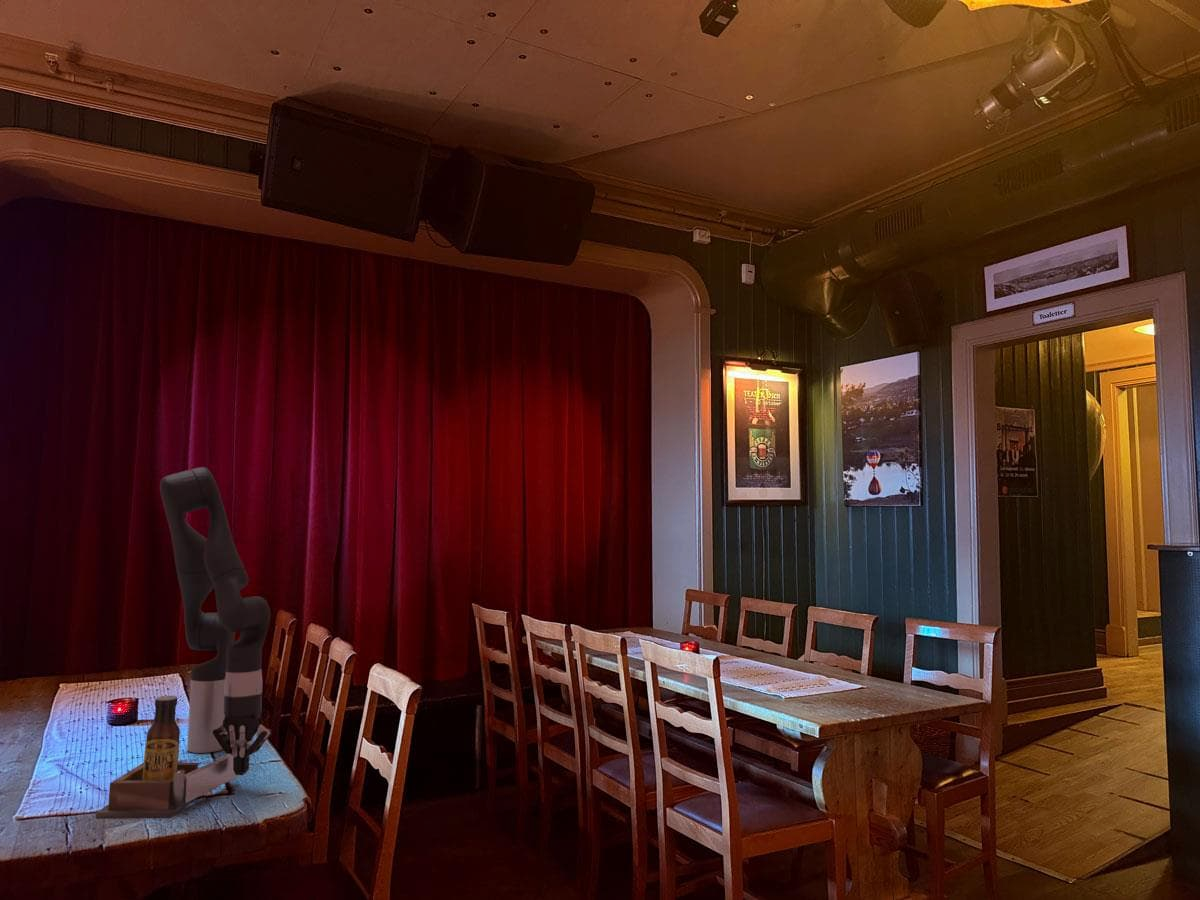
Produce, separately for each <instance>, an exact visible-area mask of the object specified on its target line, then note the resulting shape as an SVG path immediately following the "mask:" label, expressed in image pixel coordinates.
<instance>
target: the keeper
mask: <svg viewBox="0 0 1200 900" xmlns="http://www.w3.org/2000/svg"><path fill="white" fill-rule="evenodd" d="M238 777H239V775H235V772H234V771H233V756H232V755H231V754H229V753H228V754H226V755H225V756H222V757H220V758H218V759H216V760H214V761H212V762H209V763H207V764H204V765H203V766H201V767H198V769H196V770H194V771H192V772H189V773H187V774H185V770H176V771H174V774H173V793H172V807H180V806H183V803H187V802H189V801H191V800H192V801H193V800H195V799H197V798H199V797H200V796H203V795H205V794H207V793H208V792H211V791H212V790H215V789H217V788H219V787H221V786H222V785H225V784H226V783H229V782H230V781H232V780H234V779H237V778H238ZM192 801H191V802H192ZM189 803H190V802H189Z"/></svg>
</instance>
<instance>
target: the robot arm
mask: <svg viewBox="0 0 1200 900" xmlns="http://www.w3.org/2000/svg"><path fill="white" fill-rule="evenodd" d="M159 483H160V484H159V492H160V496H161V500H162V505H163V509H164V513H165V517H166V520H167V523H168V528H169V532H170V536H171V544H172V548H173V555H174V556H173V557H174V564H175V569H176V574H177V575H176V576H177V580H178V583H179V588H180V593H181V598H182V604H183V605H182V607H183V616H184V631H185V632H184V633H185V639H186V643H187V645H188V647H189V648H190V650H194V651H217V652H216V653H217V654H216V656H214V658H212V659H210V660H208V661H205V662H202V663H199V664H196V665H194V666H193V667H192V668H191V669H190V670H191V671H190V686H189V707H188V708H189V709H188V723H187V724H188V728H187V729H188V731H187V747H186V748H187V752H190V753H194V754H196V753H197V754H206V753H207V754H208V753H215V752H218V751H222V750H223V752H224V753H225V754H226V755H229V754H231V755H232V756H233V771H234V772H235V775H238V776H243V775H245V774H247V772H248V771H249V770H250V756H252V755H253V754H255V753H257V752H259V750H260V749H261V748H262V746H263V745H264V743H265V742H266V741H267V740H268V739H269V737H270V736H271V734H272V729H271V728H266V727H265V726H264V725H263V719H262V717H261V714H262V711H263V710H262V709H263V707H262V706H263V704H262V703H263V675H262V674H263V671H262V663H263V662H262V660H263V656H262V655H263V652H262V651H263V647H264V643H265V642H266V641H265V640H266V637H267V633H268V630H269V626H270V622H271V609H270V606H269V603H268V602H267V600H266V599H265V598H264V597H262V596H254V595H253V596H247V597H242V595H241V590H242V589H244V588H245V587H246V586H247V585H248V583H249V575H248V573H247V570H246V569H245V566H244V564H243V562H242V559H241V557H240V555H239V552H238V550H237V548H236V543H235V542H234V539H233V536H232V533H231V531H232V530H231V529H230V524H229V520H228V518H227V517H228V516H227V513H226V510H225V507H224V504H223V500H222V497H221V492H220V490H219V487H218V484H217V481H216V480H215V477H214V475H213V473H212V472H211V471H210V470H209V468H207V467H203V466H202V467H201V466H200V467H195V468H192V469H188V470H183V471H179V472H176V473H172V474H169V475H166V476H164V477H162V478H161V480H160V482H159ZM206 508H207V509H208V513H209V518H210V519H209V529H208V530H209V531H208V534H207V537H205V536H203V535H202V534H201V533H199V531H196V529H194V528H193V527H192V526H191V525H190V524H189V523H188V522H187V521H186V520H185V515H186V514H187V513H191V512H195V511H199V510H202V509H206ZM213 589H214V590H215V591H214V592H215V593H214V595H215V601H216V604H215V605H216V611H217V612H203V611H202V605H203V603H204V601H206V598H207V596H209V594H210V593H211V592H212V591H213ZM238 632H240V634H239V638H238V639H237V640H235V638H236V633H238ZM255 736H256V738H255ZM254 739H255V740H254Z"/></svg>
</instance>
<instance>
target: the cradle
mask: <svg viewBox="0 0 1200 900" xmlns="http://www.w3.org/2000/svg"><path fill="white" fill-rule="evenodd" d="M143 767H144V762H142V763H141V764H139V765H137V766H135V767H134V768H132V769H131V770H129V771H127V772H126V773H124V774H122V775H121V776H118V777H117V778H116V779H114V780H112V781H110V783H109V795H108V804H107V805H105V806H104V807H102V808H101V809H99V810H98V811H96V812H95V819H96V818H97V819H105V818H106V819H114V818H115V819H121V818H122V819H125V818H127V819H128V818H131V819H134V818H136V819H138V818H139V819H141V818H142V819H144V818H147V819H148V818H156V819H159V818H166V819H167V818H168V819H169V818H172V817H173V816H174V815H175V814H177V813H178V812H179V811H181V810H182V809H183V808H184V807H186V806H187V805H188V804H190V803H191V802H192V801H193V800H191V801H189V802H187V803H183V806H180V807H172V790H173V781H142V777H143ZM198 768H199V762H178V767H177V770H185V774H187V773H189V772H192V771H194V770H196V769H198Z"/></svg>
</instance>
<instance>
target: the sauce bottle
mask: <svg viewBox="0 0 1200 900" xmlns="http://www.w3.org/2000/svg"><path fill="white" fill-rule="evenodd" d="M177 704H178V697H177V695H176V696H175V695H164V696H163V695H162V696H158V697H156V698H155V701H154V707H155V710H154V717H153V719H154V720H153V723H152V724H151V726H150V727H149V729H148V730H147V732H146V741H145V746H144V754H143V755H144V758H143V763H144V767H143V777H142V781H173V774H174V771H176V770H177V767H178V763H179V753H180V743H181V742H180V737H181V733H180V732H181V731H180V726H179V725H178V724H177V722H176V710H177V709H176V708H177ZM172 793H173V790H172Z"/></svg>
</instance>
